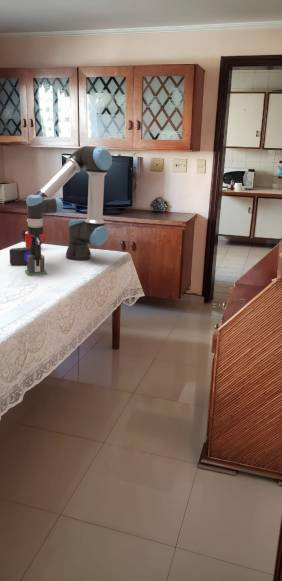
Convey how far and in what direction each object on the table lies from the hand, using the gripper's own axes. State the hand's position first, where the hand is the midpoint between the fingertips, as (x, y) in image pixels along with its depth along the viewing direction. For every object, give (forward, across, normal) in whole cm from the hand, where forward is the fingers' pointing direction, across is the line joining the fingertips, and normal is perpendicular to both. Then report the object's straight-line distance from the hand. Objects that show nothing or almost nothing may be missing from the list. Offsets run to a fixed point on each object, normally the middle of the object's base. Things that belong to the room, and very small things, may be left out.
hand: (36, 270), depth 236 cm
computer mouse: (+2, -20, -2) cm, 20 cm away
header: (+2, 0, 0) cm, 2 cm away
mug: (+2, -53, +12) cm, 54 cm away
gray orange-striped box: (0, 0, 0) cm, 0 cm away
